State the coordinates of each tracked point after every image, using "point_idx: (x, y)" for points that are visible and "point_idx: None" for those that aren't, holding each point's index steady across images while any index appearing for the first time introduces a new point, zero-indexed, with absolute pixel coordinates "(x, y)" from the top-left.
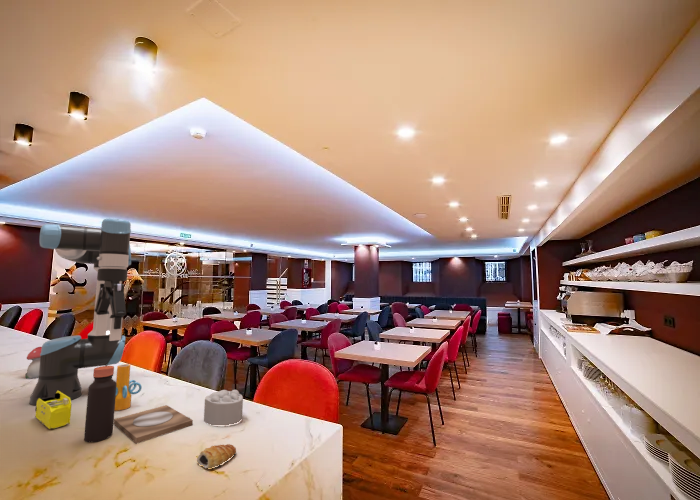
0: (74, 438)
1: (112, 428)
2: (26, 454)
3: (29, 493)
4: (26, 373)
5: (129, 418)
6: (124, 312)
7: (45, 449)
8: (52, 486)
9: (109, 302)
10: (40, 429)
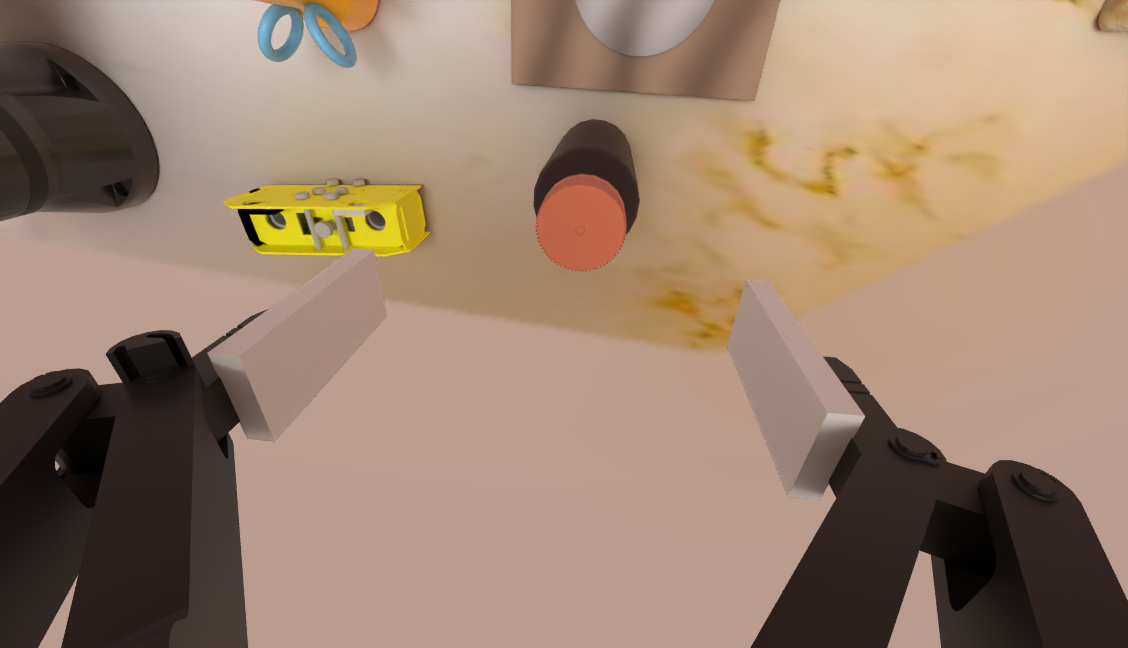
0: None
1: (617, 130)
2: (555, 298)
3: None
4: None
5: (551, 37)
6: (1065, 519)
7: (560, 268)
8: None
9: (199, 545)
10: None
